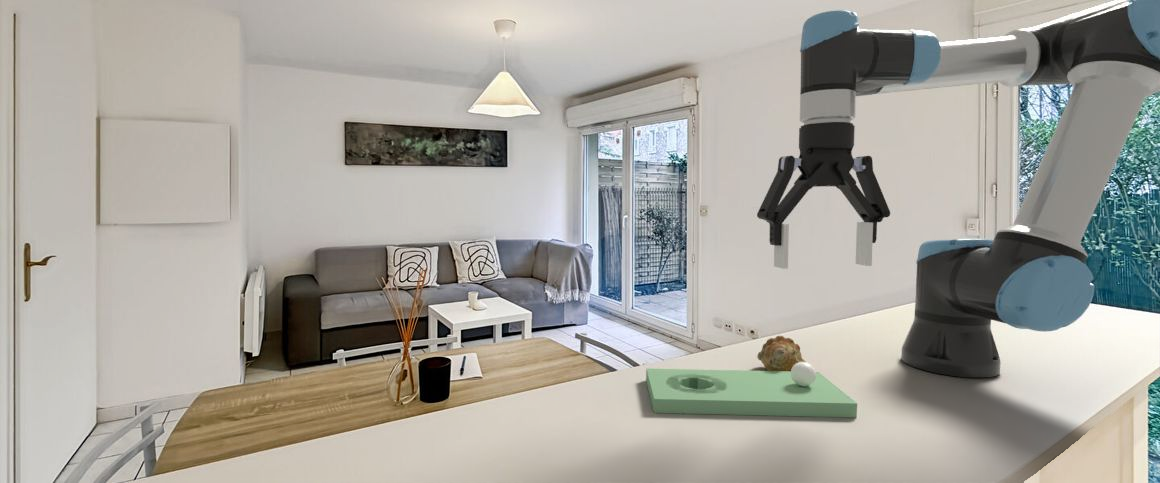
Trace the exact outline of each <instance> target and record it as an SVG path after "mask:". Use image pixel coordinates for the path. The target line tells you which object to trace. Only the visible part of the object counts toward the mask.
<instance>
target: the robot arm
mask: <svg viewBox="0 0 1160 483" xmlns="http://www.w3.org/2000/svg"><path fill="white" fill-rule="evenodd" d="M800 41H801V42H800V48H799V52H800V90H799V91H800V92H799V93H800V94H799V95H800V97H799V104H800V105H799V122H800V123H802V124H803V125H801V126H800V127H799V128H798V149H799V155H798V157H795V156H793V155H784V156H780V157H779V158H778V165H777V172H776V174H775V176H774V177H773V180H772V182H771V183H770V186H769V188H768V190H767V193H766V194H765V197H764V199H763V201H762V202H761V205H760V207H759V209H758V211H757V214H756V217H757V218H758V219H760V220H764V221H766V223H768V224H769V240H768V241H769V244H770V246H773V247H774V248H773V267H774V268H779V269H783V270H784V269H789V237H790V236H789V233H790V232H789V230H790V229H789V228H790V227H789V225H790V224H789V223H784V222H785V220H786V219H787V217H789V215H790V214H791V213H792V212H793V210H794V209H795V208H796V206H797V205H798V204H799V203H800V201H801V200H802V199H803V198H804V196H805V195H806V194H807V193H808V191H809V190H812V189H813V188H814V187H815V188H817V187H836V188H837V189H838V190H840V191H841V193H842V194H843V196H844V197H845V198H846V200H847V202H849V203H850V206H852V207H853V210H855V212H856V213H857V214H858V216H859V218H861V219H862V221H857V222H856V237H855V239H856V240H855V241H856V242H855V243H856V244H855V264H856V265H860V266H865V267H866V266H867V267H872V264H873V244H874V243H875V244H876V241H877V235H878V234H877V232H878V229H877V228H878V223H881V222H882V221H883V220H884V218H889V217H890V215H891V210H890V208H889V206H888V204H887V200H886V199H885V196H884V194H883V190H882V189H881V187H880V184H879V182H878V180H877V177H876V175H875V172H874V166H873V165H874V164H873V157H872V156H871V155H864V156H856V157H855V158H854V157H853V153H852V152H853V148H854V146H855V130H856V128H855V125H854V123H853V122H851V121H854V119H855V118H856V99H857V98H856V97H862V96H863V97H864V96H871V95H878V94H889V93H900V92H911V91H920V90H931V89H940V88H942V89H943V88H951V87H960V86H961V87H962V86H963V87H964V86H971V85H972V86H973V85H982V84H991V83H1000V84H1001V85H1003V86H1006V87H1022V86H1046V85H1047V86H1048V85H1049V86H1050V85H1051V86H1052V85H1053V86H1054V85H1072V87H1073V90H1072V92H1071V94H1070V95H1069V98H1068V101H1067V103H1066V105H1065V106H1064V107H1065V108H1064V110H1063V112H1062V114H1061V115H1060V119H1059V120H1058V123H1057V125H1056V128H1055V130H1054V132H1053V134H1052V137H1051V138H1050V141H1049V143H1048V146H1047V147H1046V150H1045V152H1044V155H1043V156H1042V159H1041V161H1040V163H1039V166H1038V168H1037V170H1036V172H1035V174H1034V177H1033V179H1032V182H1031V184H1030V185H1029V188H1028V190H1027V191H1026V192H1027V193H1026V194H1025V197H1024V199H1023V201H1022V204H1021V206H1020V208H1019V210H1018V213H1017V215H1016V217H1015V219H1014V221H1013V224H1011V225H1010V226H1007V227H1004V228H1002V229H998V230H997V232H996V234H995V236H994V239H991V238H959V239H958V238H956V239H954V238H953V239H932V240H926V241H924V242H923V243H921V244H920V246H919V249H918V253H917V259H916V279H915V282H916V284H915V299H914V300H915V301H914V302H915V305H914V315H913V316H914V317H913V322H912V324H911V326H910V327H909V328H910V329H909V331H908V333H907V335H906V337H905V340H904V342H903V344H902V346H901V356H900V359H901V361H902V362H903V363H905V364H906V365H908V366H910V367H913V368H915V369H919V370H922V371H925V372H929V373H935V374H940V375H944V376H945V375H946V376H952V377H960V378H971V379H972V378H973V379H974V378H975V379H977V378H978V379H979V378H982V379H983V378H993V377H997V376H999V375H1000V374H1001V364H1002V362H1001V358H1000V354H999V351H998V348H997V345H996V340H995V339H994V335H993V332H992V328H991V327H992V321H995V322H999V323H1003V324H1006V325H1008V326H1010V327H1012V328H1015V329H1018V330H1019V329H1020V330H1029V331H1035V332H1045V333H1046V332H1053V331H1058V330H1060V329H1062V328H1065V327H1069V326H1070V325H1071V324H1074V323H1075V322H1076V321H1077V320H1079V319H1080V318H1081V317H1082V316H1083V315H1084V313H1085V312H1086V311H1087V310H1088V308H1090V305H1091V302H1092V301H1093V297H1094V295H1095V294H1094V293H1095V285H1094V284H1093V283H1092V281H1093V280H1094V275H1093V273H1092V271H1091V270H1090V268H1089V267H1088V266H1087V265H1086V264H1085V263H1086V261H1087V259H1088V257H1089V256H1088V253H1087V251H1086V250H1085V249H1084V247H1083V246H1082V243H1081V241H1082V239H1083V238H1084V237H1083V236H1084V234H1085V233H1086V231H1087V228H1088V226H1089V224H1090V222H1091V218H1092V217H1093V214H1094V212H1095V211H1096V208H1097V206H1098V203H1099V202H1100V200H1101V198H1102V195H1103V193H1104V190H1105V188H1106V186H1107V184H1108V181H1109V179H1110V178H1111V174H1113V173H1112V172H1113V170H1114V168H1115V165H1116V164H1117V162H1118V159H1119V157H1120V154H1121V152H1122V150H1123V149H1124V146H1125V144H1126V141H1127V140H1128V137H1129V134H1130V133H1131V131H1132V128H1133V126H1134V124H1135V123H1136V122H1135V121H1136V119H1137V117H1138V114H1139V112H1140V110H1141V108H1142V106H1143V104H1144V101H1145V99H1146V98H1147V97H1150V96H1152V95H1155V94H1157V93H1159V92H1160V0H1114V1H1110V2H1107V3H1103V4H1100V5H1098V6H1094V7H1091V8H1088V9H1085V10H1082V11H1078V12H1075V13H1072V14H1069V15H1067V16H1063V17H1061V18H1058V19H1055V20H1052V21H1050V22H1046V23H1043V24H1040V25H1036V26H1033V27H1028V28H1020V29H1013V30H1011V31H1009V32H1006V34H1004V35H1003V36H998V37H987V38H977V39H967V40H966V39H965V40H955V41H945V42H940V39H938V37H937V35H936V34H934V33H932V32H931V31H924V30H915V29H913V28H910V29H904V30H903V29H866V28H860V24H859V18H858V15H857V13H856V12H854V11H849V10H845V9H841V10H839V9H837V10H829V11H828V10H827V11H823V12H819V13H816V14H814V15H812V16H810V17H809V18H807V19H806V20H805V22H804V23H803V25H802V32H801V40H800ZM797 169H798V170H799V171H800V175H799V176H798V178H796V180H795V181H794V183H793V186H792V187H791V188H790V189H789V191H788V192H787V193H786V195H785V196H784V197H783V195H784V194H785V192H786V190H787V187H788V185H789V183H790V181H791V179H792V176H793V173H794V172H795V171H796V170H797ZM851 170H853V171H854V172H855V175H856V178H857V180H858V183H859V186H860V187H861V189H860V188H859V186H858V185H857V181H856V179H855V178H854V176H852V173H850V172H851ZM861 190H862V191H861ZM782 197H783V198H782Z"/></svg>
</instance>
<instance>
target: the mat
mask: <svg viewBox="0 0 1160 483" xmlns="http://www.w3.org/2000/svg"><path fill="white" fill-rule="evenodd" d="M645 370H646V371H645V373H646V374H645V382H646V386H647V390H648V394H649V398H650V403H651V406H653V407H652V409H653V410H654V411H653V413H654V412H655V413H654V414H683V413H684V414H689V415H690V414H691V415H693V414H694V415H732V416H733V415H734V416H735V415H736V416H773V417H775V416H777V417H780V416H781V417H818V418H824V417H825V418H857V414H858V403H857V402H856V401H855V400H854V399H852V397H850V396H849V395H848V394H846V393H845V392H844V391H843V390H841V389H840V388H839V387H838V386H837V385H835V384H834V383H833V382H831V381H830V380H829V379H828V378H827V377H825V375H824V374H822V373H820V371H816V379H815V381H814V382H813V383H812V384H811V385H809V386H799V385H797V384H796V383H795V382H794V381H793V380H792V378H791V370H790V371H768V370H736V369H735V370H732V369H692V368H691V369H686V368H684V369H683V368H678V369H677V368H645Z"/></svg>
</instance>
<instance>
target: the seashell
mask: <svg viewBox="0 0 1160 483" xmlns="http://www.w3.org/2000/svg"><path fill="white" fill-rule="evenodd" d="M756 356H757V359H758V360H759V361H761V363H762V364H763V366H764V367H765V369H766V371H791V369H792V367H793V366H794V365H795V364H796V363H799V362H806V360H805V359H803V357H802V356H803V355H802V353H801V347H800V345H799V344H798V343H795V342H794V339H793V338H791V337H784V336H783V335H777V336H776V337H774V338H772V337H771V338H768V339H767V340H766V341H765V343H764V344H762V348H761V351H758V354H757V355H756ZM806 363H807V362H806Z"/></svg>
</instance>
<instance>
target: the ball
mask: <svg viewBox="0 0 1160 483" xmlns="http://www.w3.org/2000/svg"><path fill="white" fill-rule="evenodd" d="M790 371H791V378H792V380H793V381H794V382H795V383H796V384H797V385H799V386H809V385H811V384H812V383H813V382H814V381H815V379H816V372H817V371H816V369H815V368H814V366H813V365H812V364H810V363H809V362H799V363H796V364H795V365H794V366H793V367H792V369H791V370H790Z"/></svg>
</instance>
